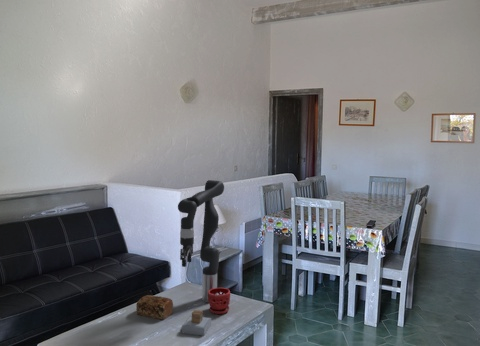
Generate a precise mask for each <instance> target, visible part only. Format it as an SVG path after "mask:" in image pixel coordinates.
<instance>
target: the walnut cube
mask: <svg viewBox="0 0 480 346" xmlns="http://www.w3.org/2000/svg"><path fill="white" fill-rule="evenodd" d="M203 313H204V312H203V310H198V309H194V310H193V311H192V312H191V316H192V323H199V324H200V323H201V321H202V317H203Z"/></svg>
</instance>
